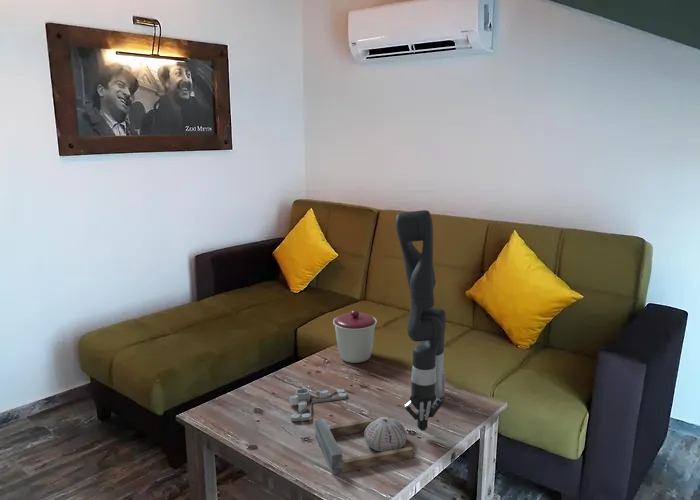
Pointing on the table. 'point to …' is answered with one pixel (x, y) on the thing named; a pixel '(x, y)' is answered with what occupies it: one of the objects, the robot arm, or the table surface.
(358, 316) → the canister
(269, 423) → the table surface
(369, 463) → the track
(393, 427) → the sea urchin shell
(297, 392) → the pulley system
